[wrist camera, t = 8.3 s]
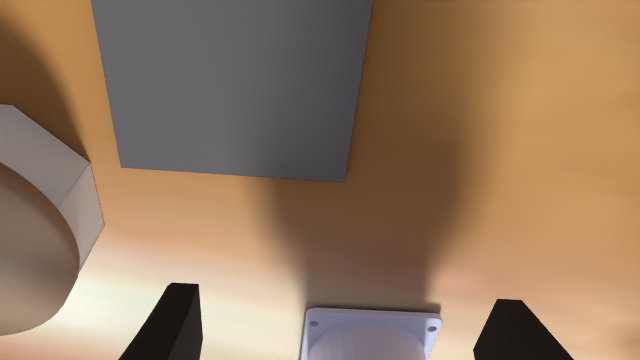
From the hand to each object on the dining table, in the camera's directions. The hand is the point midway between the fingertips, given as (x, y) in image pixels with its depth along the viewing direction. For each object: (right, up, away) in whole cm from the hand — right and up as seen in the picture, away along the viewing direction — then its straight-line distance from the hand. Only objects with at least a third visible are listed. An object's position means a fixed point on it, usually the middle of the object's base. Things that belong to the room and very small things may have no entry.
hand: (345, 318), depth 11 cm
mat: (-4, +8, +7) cm, 11 cm away
